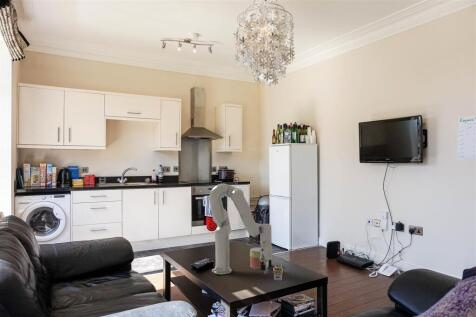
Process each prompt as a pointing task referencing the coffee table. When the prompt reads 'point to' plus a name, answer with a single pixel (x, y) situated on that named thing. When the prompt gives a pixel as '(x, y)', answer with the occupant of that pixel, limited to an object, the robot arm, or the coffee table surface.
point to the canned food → (255, 258)
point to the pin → (266, 267)
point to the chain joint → (278, 272)
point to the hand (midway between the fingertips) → (266, 268)
